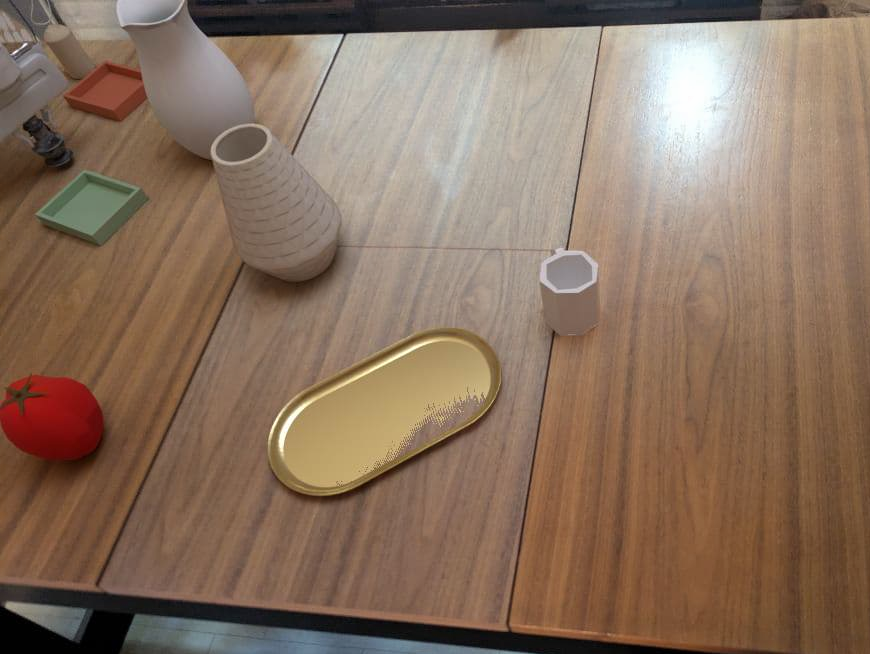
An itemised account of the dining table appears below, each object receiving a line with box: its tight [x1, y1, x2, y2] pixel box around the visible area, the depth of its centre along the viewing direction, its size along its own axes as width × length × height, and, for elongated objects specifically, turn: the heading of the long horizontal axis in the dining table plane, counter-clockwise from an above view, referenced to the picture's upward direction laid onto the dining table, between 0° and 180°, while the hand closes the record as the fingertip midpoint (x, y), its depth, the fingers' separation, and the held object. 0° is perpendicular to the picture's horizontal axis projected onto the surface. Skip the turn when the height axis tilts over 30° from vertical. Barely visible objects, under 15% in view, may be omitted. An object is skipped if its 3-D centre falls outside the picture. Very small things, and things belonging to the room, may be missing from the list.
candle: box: [42, 23, 96, 80], centre depth 150 cm, size 6×6×10 cm
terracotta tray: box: [62, 60, 148, 122], centre depth 147 cm, size 15×13×3 cm
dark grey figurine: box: [22, 114, 74, 168], centre depth 131 cm, size 6×6×12 cm
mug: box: [539, 247, 601, 337], centre depth 104 cm, size 12×9×10 cm
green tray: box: [34, 169, 149, 247], centre depth 128 cm, size 15×13×3 cm
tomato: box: [0, 372, 105, 461], centre depth 98 cm, size 12×12×13 cm
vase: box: [211, 123, 342, 283], centre depth 109 cm, size 17×17×23 cm
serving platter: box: [267, 326, 503, 497], centre depth 101 cm, size 19×35×2 cm, turn 120°
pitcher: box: [115, 0, 256, 161], centre depth 126 cm, size 24×17×28 cm
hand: (42, 137), depth 132 cm, fingers closed on dark grey figurine, 3 cm apart
